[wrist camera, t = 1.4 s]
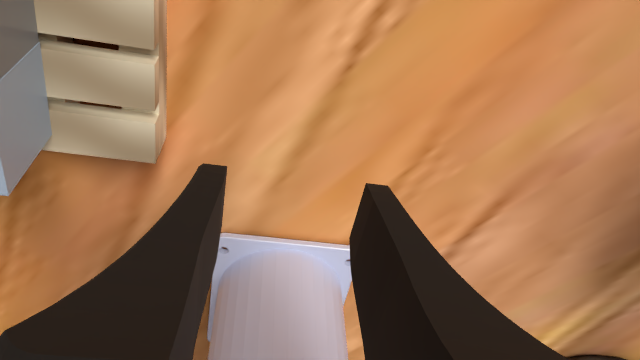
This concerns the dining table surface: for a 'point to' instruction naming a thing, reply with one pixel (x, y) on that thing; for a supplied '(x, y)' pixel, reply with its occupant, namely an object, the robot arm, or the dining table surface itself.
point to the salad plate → (595, 358)
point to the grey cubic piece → (16, 32)
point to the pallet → (105, 76)
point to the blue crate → (22, 118)
